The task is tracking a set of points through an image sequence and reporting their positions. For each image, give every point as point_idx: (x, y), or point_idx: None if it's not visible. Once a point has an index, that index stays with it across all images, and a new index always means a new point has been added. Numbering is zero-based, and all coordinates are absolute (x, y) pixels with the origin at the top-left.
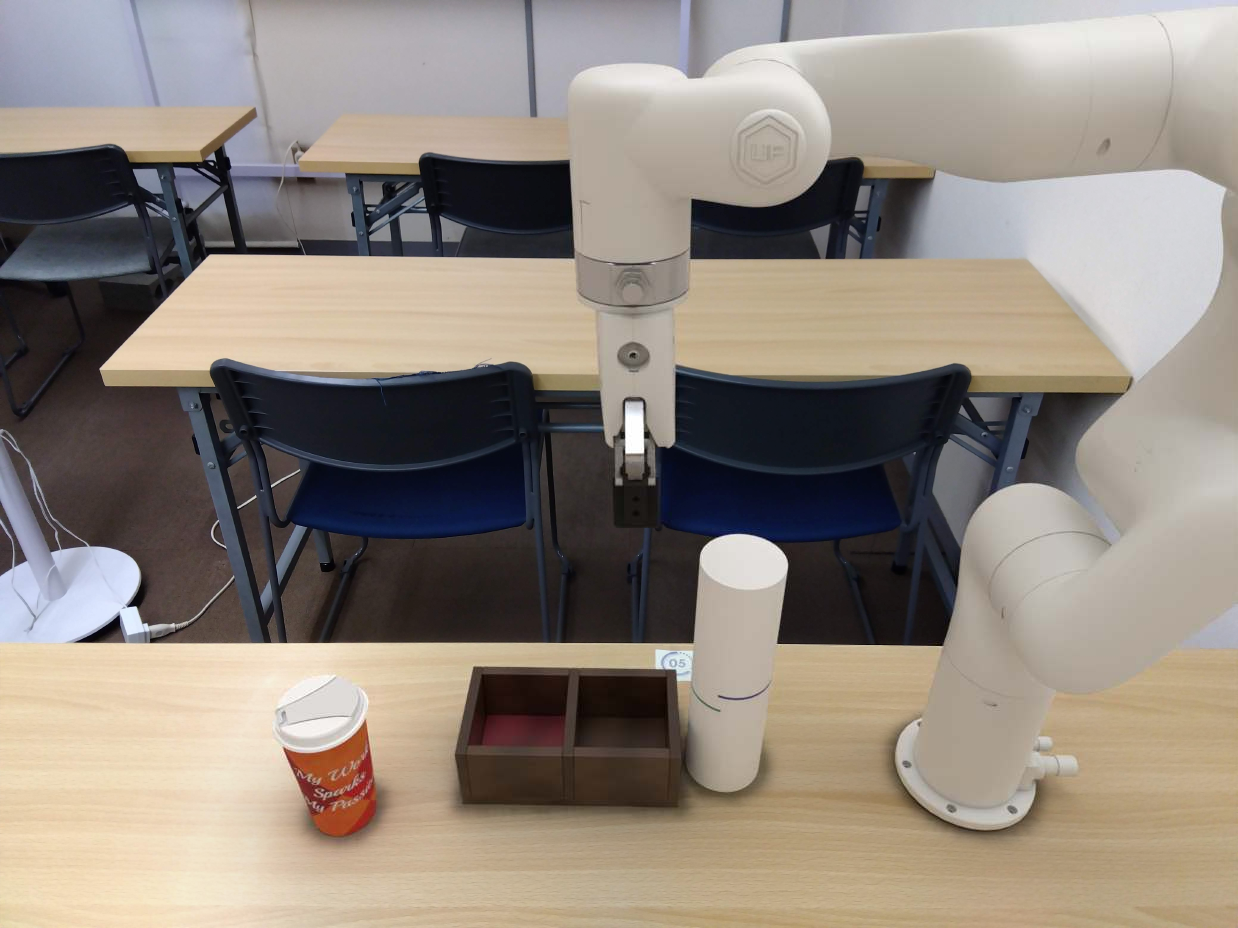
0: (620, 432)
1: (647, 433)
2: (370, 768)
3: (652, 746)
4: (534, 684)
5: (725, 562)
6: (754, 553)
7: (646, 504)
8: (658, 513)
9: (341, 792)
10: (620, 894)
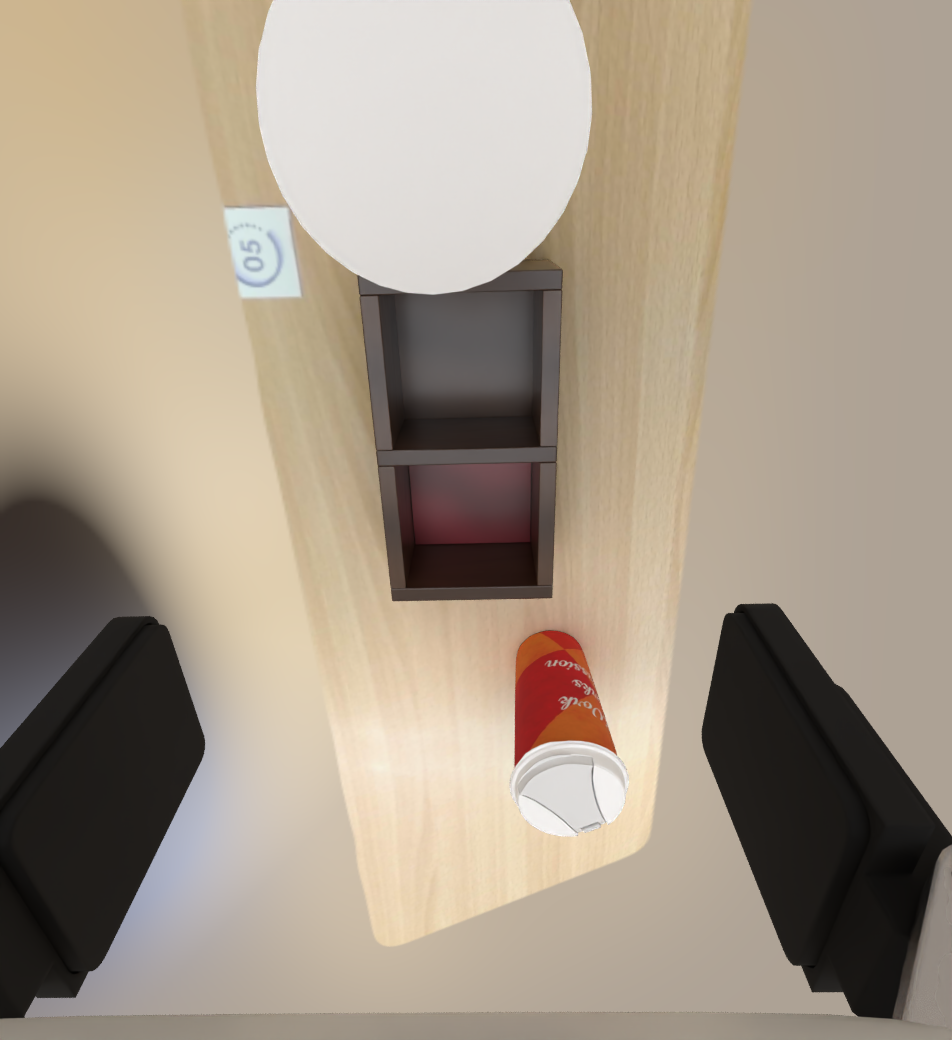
0: (145, 847)
1: (105, 739)
2: (558, 674)
3: (452, 303)
4: (402, 508)
5: (440, 197)
6: (375, 63)
7: (897, 764)
8: (806, 644)
9: (597, 696)
10: (678, 342)
